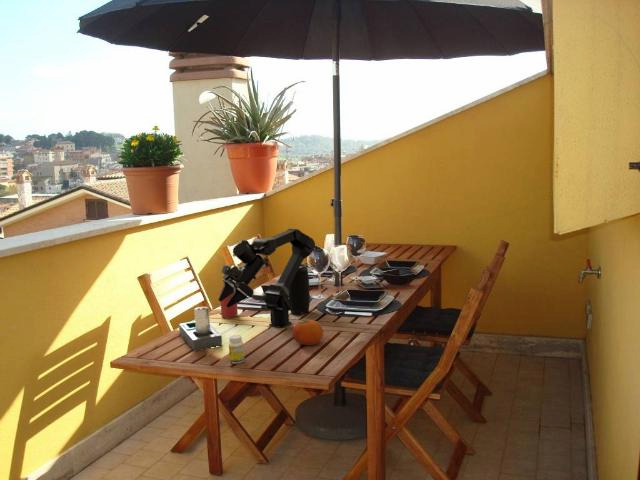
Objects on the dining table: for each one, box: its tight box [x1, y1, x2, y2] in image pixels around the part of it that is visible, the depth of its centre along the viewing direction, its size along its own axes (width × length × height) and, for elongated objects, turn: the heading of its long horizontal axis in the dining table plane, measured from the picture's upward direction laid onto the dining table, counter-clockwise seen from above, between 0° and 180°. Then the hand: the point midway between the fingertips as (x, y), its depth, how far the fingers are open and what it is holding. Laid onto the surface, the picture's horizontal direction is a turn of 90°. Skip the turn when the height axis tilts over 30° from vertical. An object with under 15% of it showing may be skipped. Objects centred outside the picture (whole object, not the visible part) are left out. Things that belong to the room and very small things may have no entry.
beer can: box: [219, 286, 239, 319], centre depth 256 cm, size 7×7×12 cm
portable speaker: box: [288, 263, 311, 316], centre depth 257 cm, size 9×9×20 cm
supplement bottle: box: [228, 334, 245, 364], centre depth 205 cm, size 5×5×8 cm
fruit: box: [292, 319, 324, 346], centre depth 219 cm, size 11×10×8 cm
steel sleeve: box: [193, 306, 211, 337], centre depth 223 cm, size 5×5×13 cm
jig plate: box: [178, 320, 223, 351], centre depth 228 cm, size 22×10×4 cm, turn 25°
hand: (223, 303), depth 225 cm, fingers open, 9 cm apart
